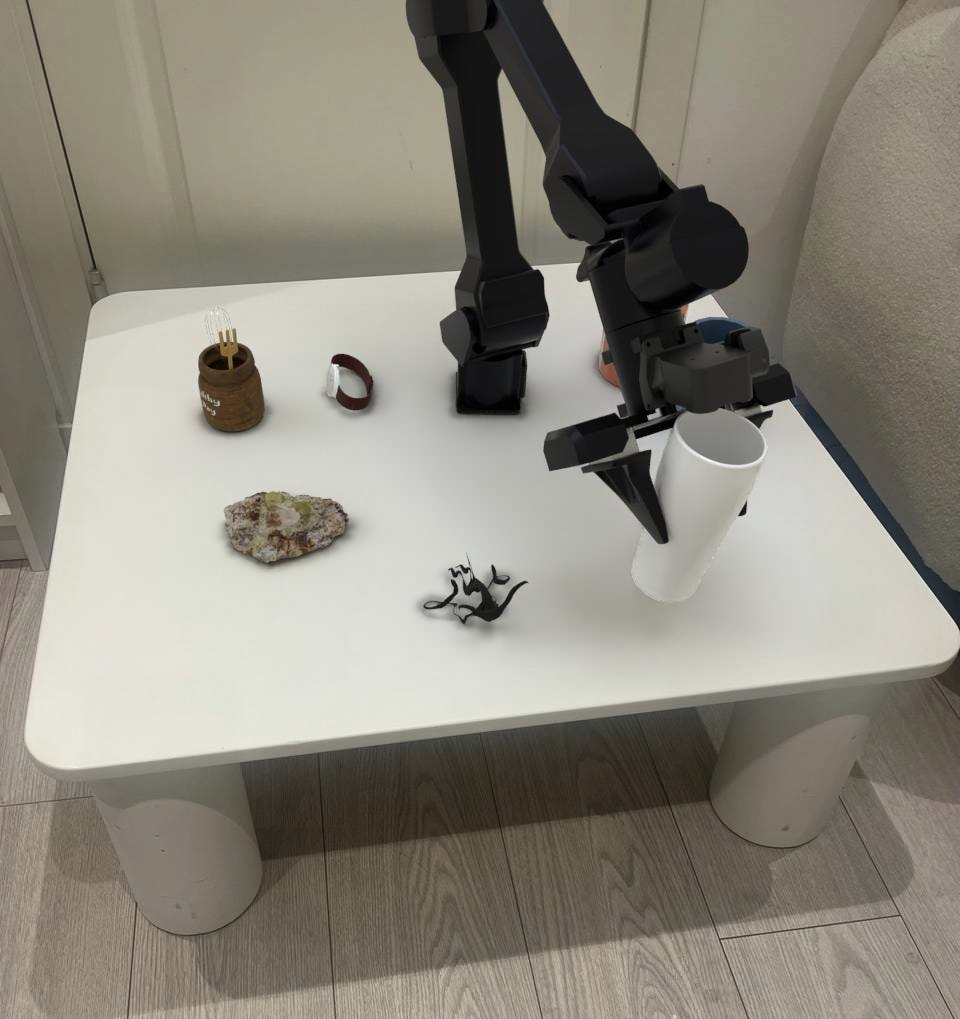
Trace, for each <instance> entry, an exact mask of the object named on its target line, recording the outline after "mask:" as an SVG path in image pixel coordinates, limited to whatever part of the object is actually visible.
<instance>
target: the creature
mask: <svg viewBox="0 0 960 1019" xmlns="http://www.w3.org/2000/svg"><path fill="white" fill-rule="evenodd" d="M465 553H466V558H467V560H468V561H467V563H468V566H466V567H465V566H464V564H461V563H460V564H458V565H456V566H455V569H457V568H459V567H460V569H461V570H455V569H454V568H453V567H449V568H448V569H447V571H448V572H450V573H451V576H452V577H453V578H451V579H450V584H451V586H452V587H453V589H452V590H453V591H452V593H451V594H450V595H448V596H446V598H445V599H444V600H443V601H438V600H433V602H434V603H439V604H437V605H434V606H426V604H428V603H430V602H431V603H432V600H427V601H426V602H425V603H424V604H423V608H424V609H425V610H438V609H439V610H440V609H443V608H444V607H446V606H448V605H451V606H453V610H452V612H453V615H455V616H457V617H458V618H459V620H460V622H461V624H466V622H467V620H468V618H470V617H477V618H479V619H481V620H483V621H484V622H487V623H491V622H493V621H496V620H498V619H499V618H500V617H501V616H502V615H503V613H504V611H505V610H506V608H507V607H508V605H509V604H510V603H511V601H512V599H513V597H514V595H515V594H516V593H517V592H518V590H519V589H520V588H521V587H523V586H524V585H526V584H527V585H529V581H528V580H522V581H520V582H519V583H516V584H515V585H514V586H513V587H512V588H511V589H510V590H509V592H508V593H507V595H506V597H505V599H504V601H503V602H502V603H501V604H500V605H499V604H498V603H497V597H495V596H494V595H492V594H491V592H490V591H489V588H490V587H491V585H492V584H495V585H498V586H505V585H506V584H507V583H509V582H510V580H511V577H510V575H507V574H506V575H504V574H503V575H502V577H507V578H506V579H501V578H499V577H501V575H497V568H496V567H495V565H494V564H493V563H492V564H491V565H490V569H491V573H492V579H491V581H490V583H489V584H488V586H486V584H484V582H482V581H481V580H480V579H479V578H477V577H476V575H475V573H474V571H473V567H472V564H471V562H470V559H469V556H468V553H467V552H465ZM463 574H465V575H468V574H469V576H470V577H469V578H470V579H469V582H468V584H467V583H466V581H465V579H464V576H463ZM459 575H460V576H461V577H462V578H461V579H462V591H463V593H464V595H465V596H468V597H470V596H471V595H472V594H473V593H480V595H481V601H480V603H479V604H478V605H477V607H474V606H472V605H470V604H464V603H463V604H459V603H457V602H452V601H453V599H455V597H456V596H457V595H458V593H459V585H458V583H457V580H456V579H457V578H458V576H459ZM493 598H495V599H493ZM458 604H459V605H458ZM457 605H458V608H457V609H458V611H460V610H461V609H466V610H468V611H470V613H468V614H466V615H464V617H463V618H462V617H461V616H460V615H458V614H457V613H455V608H456V606H457Z"/></svg>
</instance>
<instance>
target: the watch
mask: <svg viewBox="0 0 960 1019" xmlns="http://www.w3.org/2000/svg"><path fill="white" fill-rule="evenodd" d="M339 368H344V369H347V370H350V371H352V372H353V373H354V374H356V375H357V376H359V378H360V379H361V380H362V382H363V383H364V386H365V389H366V396H363V397H353V396H350V395H348V394H347V393H345V392H344V391H343V390H342V388H341V386H340V370H339ZM325 381H326V382H325V384H326V385H325V386H326V388H325V389H326V393H327V395H328V397H330V398H334V399H335V400H336V401H337V403H338V404H339V405H340V406H341V407H343V408H344V409H346V410H348V411H354V412H356V411H362V410H364V409H366V408H368V406H369V404H370V401H371V396H372V393H373V391H374V390H373V389H374V383H375V382H374V381H375V380H374V378H373V375H372V374H370V371H369V369H368V368H367V366H366V365H365V364H364V363H363V362H362V361H361V360H359V359H358V358H356V357H355V356H353V355H350V354H347V353H336V354H334V355H333V356H332V357H331V360H330V364H329V366H328V368H327V372H326V379H325Z"/></svg>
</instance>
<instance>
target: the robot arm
mask: <svg viewBox="0 0 960 1019" xmlns="http://www.w3.org/2000/svg"><path fill="white" fill-rule="evenodd" d="M544 2H545V1H544V0H405V17H406V21H407V26H408V29H409V30H410V33H411V34H412V36H413V38H414V43H415V46H416V52H417V56H418V59H419V61H420V62H421V63H422V65H423V66H424V67H425V69H426V70H427V72H428V73H429V74H430V75H431V77H432V78H433V79H434V81H435V82H436V83H437V84H438V85H439V87H440V88H441V92H442V97H443V103H444V111H445V116H446V117H445V118H446V123H447V130H448V138H449V144H450V152H451V158H452V164H453V170H454V171H453V172H454V177H455V184H456V185H455V186H456V191H457V198H458V205H459V212H460V218H461V225H462V226H461V227H462V231H463V238H464V245H465V253H466V258H465V260H464V263H463V265H462V268H461V270H460V273H459V276H458V278H457V280H456V281H455V282H456V283H455V285H454V300H455V301H454V302H455V310H454V311H452V312H451V313H450V314H448V315H447V316H444V318H442V319H441V320H439V328H440V329H439V330H440V336H441V342H442V344H443V345H444V346H445V348H446V349H447V350H448V351H449V353H450V354H451V356H453V358H455V360H456V361H457V367H456V368H457V369H456V370H457V371H456V372H455V411H456V413H458V414H496V415H497V414H499V415H501V414H502V415H503V414H504V415H507V414H509V415H510V414H511V415H518V414H520V413H521V409H522V406H521V399H524V397H526V388H527V387H526V386H527V377H528V376H527V375H528V358H527V351H526V349H530V348H537V347H539V346H540V344H541V341H542V339H543V337H544V334H545V331H546V330H547V328H548V324H549V320H550V310H549V309H550V308H549V304H548V301H547V298H546V288H545V277H544V274H542V271H541V270H540V269H538V268H536V269H534V268H533V266H532V265H531V264H530V263H529V261H528V260H527V259H526V258H525V256H524V255H523V254H522V252H521V250H520V246H519V239H518V230H517V223H516V217H515V207H514V200H513V192H512V185H511V184H512V183H511V176H510V175H511V174H510V168H509V167H510V166H509V159H508V153H507V151H508V150H507V144H506V135H505V129H504V128H505V127H504V121H503V120H504V119H503V112H502V105H501V104H502V103H501V97H500V89H499V88H500V87H499V78H500V75H501V72H503V74H504V75H505V77H506V79H507V81H508V83H509V85H510V87H511V89H512V91H513V93H514V94H515V95H514V96H516V98H517V100H518V103H519V104H520V106H521V108H522V110H523V113H524V114H525V116H526V118H527V120H528V122H529V124H530V126H531V127H532V130H533V131H534V133H535V136H536V138H537V140H538V142H539V144H540V145H541V148H542V151H543V153H544V156H545V162H544V169H543V170H544V171H543V178H542V188H543V191H544V193H545V195H546V199H547V201H548V206H549V211H550V214H551V216H552V219H553V221H554V223H555V224H556V225H557V226H558V227H559V229H560V231H561V232H562V234H563V235H564V236H565V237H567V238H568V239H569V240H575V241H579V242H584V243H586V244H588V245H587V246H586V247H585V248H584V255H583V258H582V260H581V262H580V263H579V265H578V266H577V268H576V274H575V279H576V281H577V282H578V283H584V282H588V281H589V283H590V287H591V291H592V293H593V298H594V301H595V305H596V308H597V312H598V316H599V318H600V322H601V325H602V330H603V329H604V333H605V335H606V340H607V343H608V347H609V350H607V351H604V352H602V353H601V354H602V357H603V361H604V364H605V366H606V365H609V364H614V367H615V371H616V374H617V378H618V381H619V385H620V387H619V388H620V392H621V394H622V398H623V402H624V403H621V404H618V405H616V409H617V412H618V413H616V412H612V413H609V414H605V415H602V416H601V415H600V416H598V417H595V418H592V419H588V420H585V421H581V422H578V423H575V424H571V425H568V426H565V427H561V428H557V429H554V430H550V431H548V432H547V433H546V435H545V438H544V441H543V447H542V452H543V454H544V458H545V462H546V464H547V465H546V466H547V468H548V471H549V472H554V471H559V470H564V469H569V468H575V467H579V466H580V471H581V472H582V474H590V473H593V474H595V476H597V477H598V478H599V479H600V480H601V482H603V484H604V485H606V486H607V487H608V488H609V489H610V490H611V491H612V492H613V493H614V494H615V495H616V496H617V497H618V499H620V500H621V501H622V503H623V504H624V505H625V506H626V507H627V509H629V511H630V513H632V515H633V516H634V517H635V518H636V520H637V521H638V522H639V523H640V524H641V525H642V528H643V527H644V528H645V529H646V530H647V531H648V533H649V534H650V535H651V536H652V538H653V539H654V540H655V541H656V542H657V543H658V544H666V543H668V542H669V539H668V533H667V528H666V523H665V520H664V517H663V513H662V510H661V507H660V504H659V501H658V498H657V495H656V492H655V488H654V482H653V479H652V477H651V471H650V470H651V461H652V453H653V452H652V448H649V449H644V450H640V449H639V448H640V447H639V444H638V443H637V440H639V439H642V438H645V437H648V436H651V435H655V434H658V433H661V432H664V431H668V430H670V429H671V430H672V428H673V426H674V424H675V421H676V419H677V418H678V416H679V415H680V414H681V413H683V412H684V411H686V410H687V411H688V412H690V413H694V414H706V413H711V412H715V411H717V410H718V409H719V408H722V409H726V410H729V411H732V412H734V413H737V414H739V415H741V416H743V417H744V418H746V419H748V420H749V421H750V422H752V423H753V424H754V425H755V426H756V427H757V428H758V429H759V430H761V427H762V425H763V424H764V422H765V421H766V420H768V419H771V418H772V417H773V416H774V409H770V410H765V411H762V408H761V406H762V407H769V406H772V405H775V404H778V403H782V402H785V401H788V400H791V399H794V398H797V397H798V392H797V390H796V386H795V382H794V378H793V375H792V374H791V372H789V371H788V369H786V368H785V367H784V366H782V365H781V364H780V363H779V362H778V363H773V364H771V363H770V362H771V361H770V351H769V347H768V345H767V341H766V339H765V337H764V334H763V331H762V328H759V327H754V326H751V325H749V326H748V327H744V328H741V329H737V330H734V331H730V332H728V333H727V335H726V338H725V341H722V342H718V343H715V344H707V343H706V342H705V341H704V339H703V337H702V333H701V330H700V328H699V327H698V326H697V324H696V320H694V321H695V322H694V321H692V322H691V321H690V322H688V323H686V321H684V317H683V314H682V312H681V311H682V310H681V307H683V306H685V305H687V304H688V305H690V304H692V303H694V302H696V301H698V300H701V299H703V298H706V297H708V296H711V295H712V294H714V293H717V292H719V291H721V290H724V289H725V288H728V287H729V286H731V285H733V284H734V283H736V282H737V281H738V280H739V279H740V278H741V276H742V275H743V273H744V272H745V269H747V268H746V267H747V264H748V260H749V255H750V254H749V253H750V246H749V240H748V235H747V232H746V228H745V227H743V225H741V224H740V222H739V221H738V219H737V217H736V216H735V215H733V213H732V212H731V211H730V210H729V209H727V208H726V207H724V206H723V205H721V204H719V203H716V202H714V201H710V199H709V197H708V193H707V190H706V186H705V185H704V184H703V183H701V184H696V185H691V186H687V187H682V188H679V187H678V186H677V185H676V184H675V182H674V181H672V179H671V178H670V177H669V176H668V175H667V174H666V173H665V172H664V171H663V170H662V169H661V167H660V166H659V165H658V163H657V161H656V160H655V159H654V157H653V155H652V154H651V152H650V151H649V150H648V149H647V147H646V146H645V145H644V143H643V141H642V140H641V139H640V138H639V136H638V135H637V134H636V133H635V131H634V130H633V129H632V128H631V127H629V126H627V125H625V124H624V123H622V122H620V121H618V120H617V119H615V118H613V117H612V116H610V115H608V114H606V113H605V111H604V110H603V109H602V108H601V106H600V104H599V103H598V100H597V99H596V97H595V96H594V93H593V92H592V89H591V88H590V85H589V84H588V82H587V80H586V79H585V77H584V75H583V73H582V72H581V69H580V67H579V66H578V63H577V62H576V60H575V58H574V56H573V55H572V53H571V51H570V49H569V47H568V45H567V44H566V42H565V40H564V38H563V36H562V34H561V32H560V31H559V29H558V27H557V26H556V24H555V21H554V20H553V18H552V15H551V14H550V12H549V11H548V9H547V7H546V5H545V3H544ZM612 241H614V242H612ZM750 326H751V327H750ZM676 405H678V406H681V407H684V408H686V409H683V410H680V411H677V409H676ZM656 410H659V413H660V416H657V417H654V418H651V419H649V417H648V416H651V415H654V414H656V413H657V411H656ZM747 508H748V500H747V501H746V503H745V505H744V506H743V508H742V510H741V511H740V513H739V515H738V517H744V516H745V515H746V514H747V512H748V509H747Z"/></svg>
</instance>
